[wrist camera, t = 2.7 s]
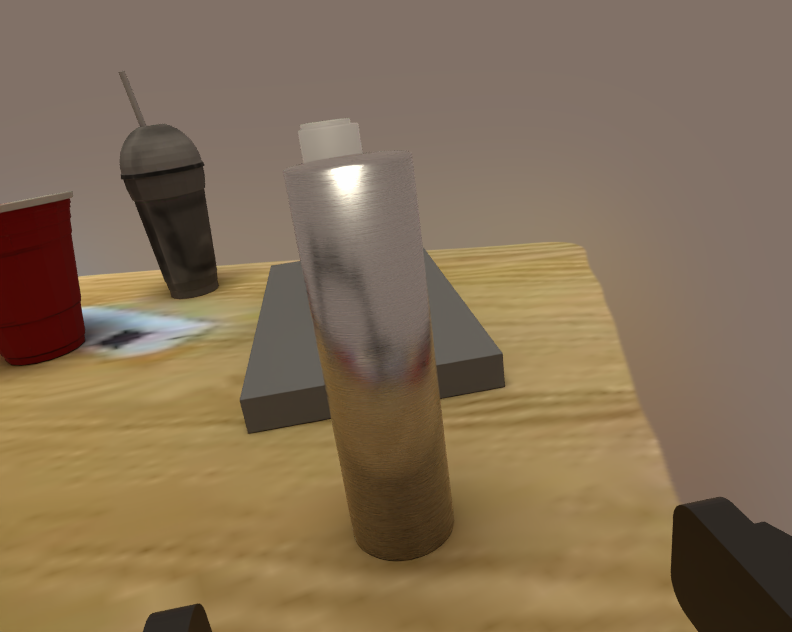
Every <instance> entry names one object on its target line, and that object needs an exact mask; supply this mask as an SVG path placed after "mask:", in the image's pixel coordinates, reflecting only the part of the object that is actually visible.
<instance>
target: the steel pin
mask: <svg viewBox="0 0 792 632" xmlns="http://www.w3.org/2000/svg"><path fill="white" fill-rule="evenodd" d="M283 174H284V179H285V184H286V189H287V194H288V199H289V205H290V209H291V214H292V220H293V225H294V230H295V235H296V240H297V245H298V251H299V255H300V261H301V266H302V271H303V276H304V282H305V287H306V292H307V297H308V302H309V307H310V312H311V317H312V323H313V328H314V333H315V338H316V343H317V348H318V353H319V358H320V364H321V369H322V374H323V379H324V384H325V389H326V394H327V400H328V405H329V410H330V415H331V420H332V425H333V430H334V435H335V441H336V446H337V451H338V456H339V461H340V466H341V471H342V476H343V482H344V487H345V492H346V497H347V502H348V507H349V512H350V517H351V523H352V528H353V533H354V537H355V540H356V542H357V543H358V545H359V546H360V547H361V548H362V549H363V550H364V551H365V552H367V553H368V554H370V555H372V556H375V557H377V558H381V559H385V560H395V561H399V560H409V559H414V558H418V557H421V556H423V555H426V554H428V553H430V552H432V551H433V550H435V549H437V548H438V547H439V546H440V545H442V544H443V543H444V542H445V541H446V539H447V538H448V537H449V535H450V533H451V531H452V529H453V525H454V515H453V506H452V497H451V489H450V480H449V471H448V463H447V454H446V445H445V437H444V428H443V419H442V410H441V402H440V393H439V384H438V376H437V367H436V358H435V350H434V341H433V332H432V324H431V315H430V306H429V297H428V289H427V280H426V271H425V263H424V254H423V246H422V237H421V229H420V220H419V211H418V203H417V194H416V184H415V177H414V167H413V158H412V153H411V152H409V151H380V152H369V153H359V154H351V155H344V156H338V157H332V158H326V159H321V160H316V161H311V162H306V163H302V164H299V165H295V166H292V167H289V168H287V169H285V170H283Z"/></svg>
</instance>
